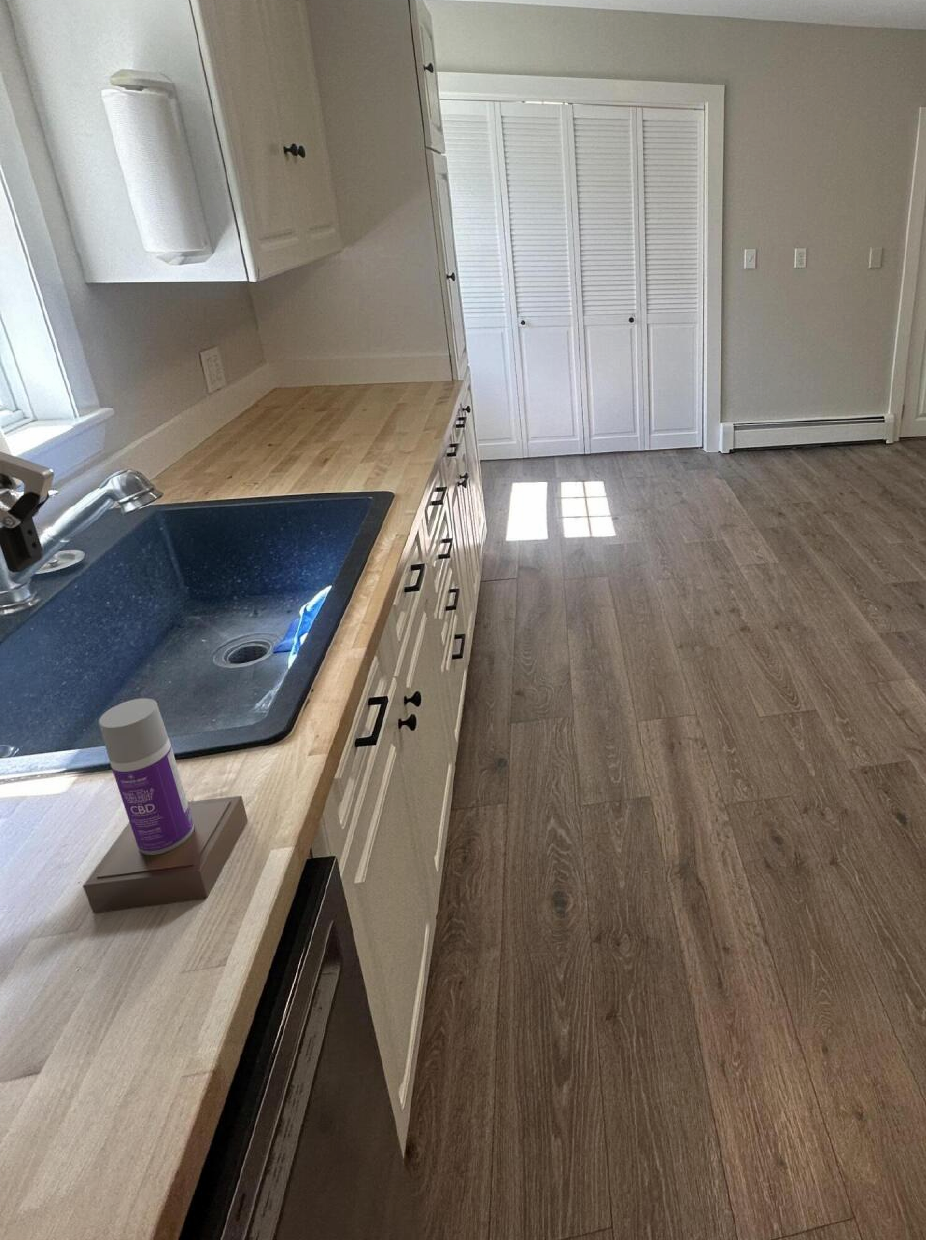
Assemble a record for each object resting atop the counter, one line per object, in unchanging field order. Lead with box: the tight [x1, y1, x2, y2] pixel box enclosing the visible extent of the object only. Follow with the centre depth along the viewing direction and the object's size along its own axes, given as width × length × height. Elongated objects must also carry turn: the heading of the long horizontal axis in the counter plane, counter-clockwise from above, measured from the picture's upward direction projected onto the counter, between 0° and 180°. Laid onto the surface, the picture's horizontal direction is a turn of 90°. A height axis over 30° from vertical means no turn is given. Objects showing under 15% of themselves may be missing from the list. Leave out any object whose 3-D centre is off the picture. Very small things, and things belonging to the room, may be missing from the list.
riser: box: [82, 795, 249, 914], centre depth 75 cm, size 10×10×4 cm
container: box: [98, 697, 194, 855], centre depth 72 cm, size 5×5×15 cm
